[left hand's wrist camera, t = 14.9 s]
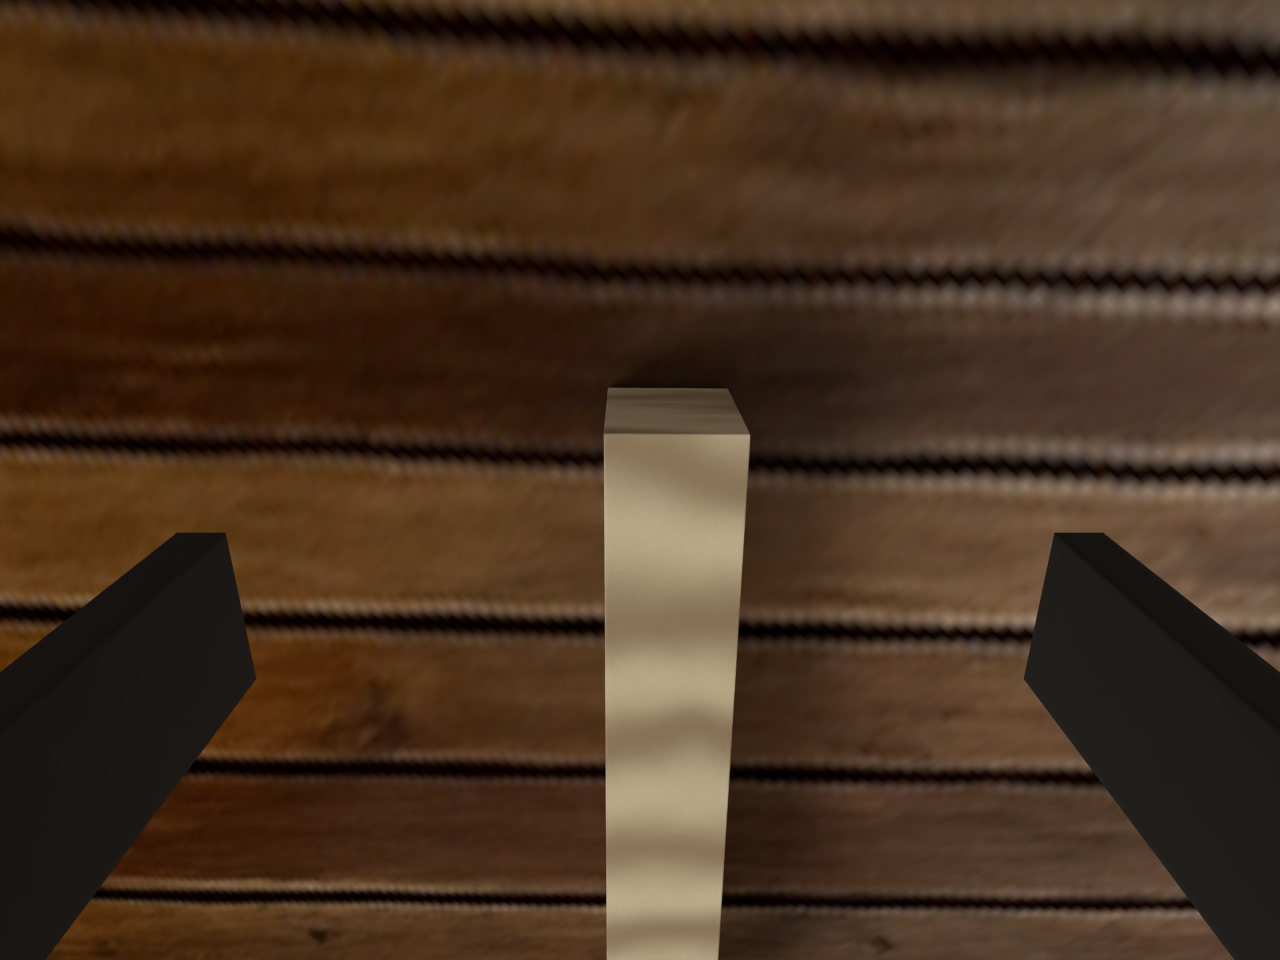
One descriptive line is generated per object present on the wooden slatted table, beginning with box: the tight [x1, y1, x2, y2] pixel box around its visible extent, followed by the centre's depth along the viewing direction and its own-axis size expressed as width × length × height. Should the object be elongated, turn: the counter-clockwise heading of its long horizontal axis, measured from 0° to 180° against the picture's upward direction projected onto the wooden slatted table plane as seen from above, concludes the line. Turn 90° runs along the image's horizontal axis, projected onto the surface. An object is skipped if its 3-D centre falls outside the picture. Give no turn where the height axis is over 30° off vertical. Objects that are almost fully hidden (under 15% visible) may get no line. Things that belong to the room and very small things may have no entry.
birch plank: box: [604, 388, 750, 960], centre depth 36 cm, size 36×5×6 cm, turn 179°
